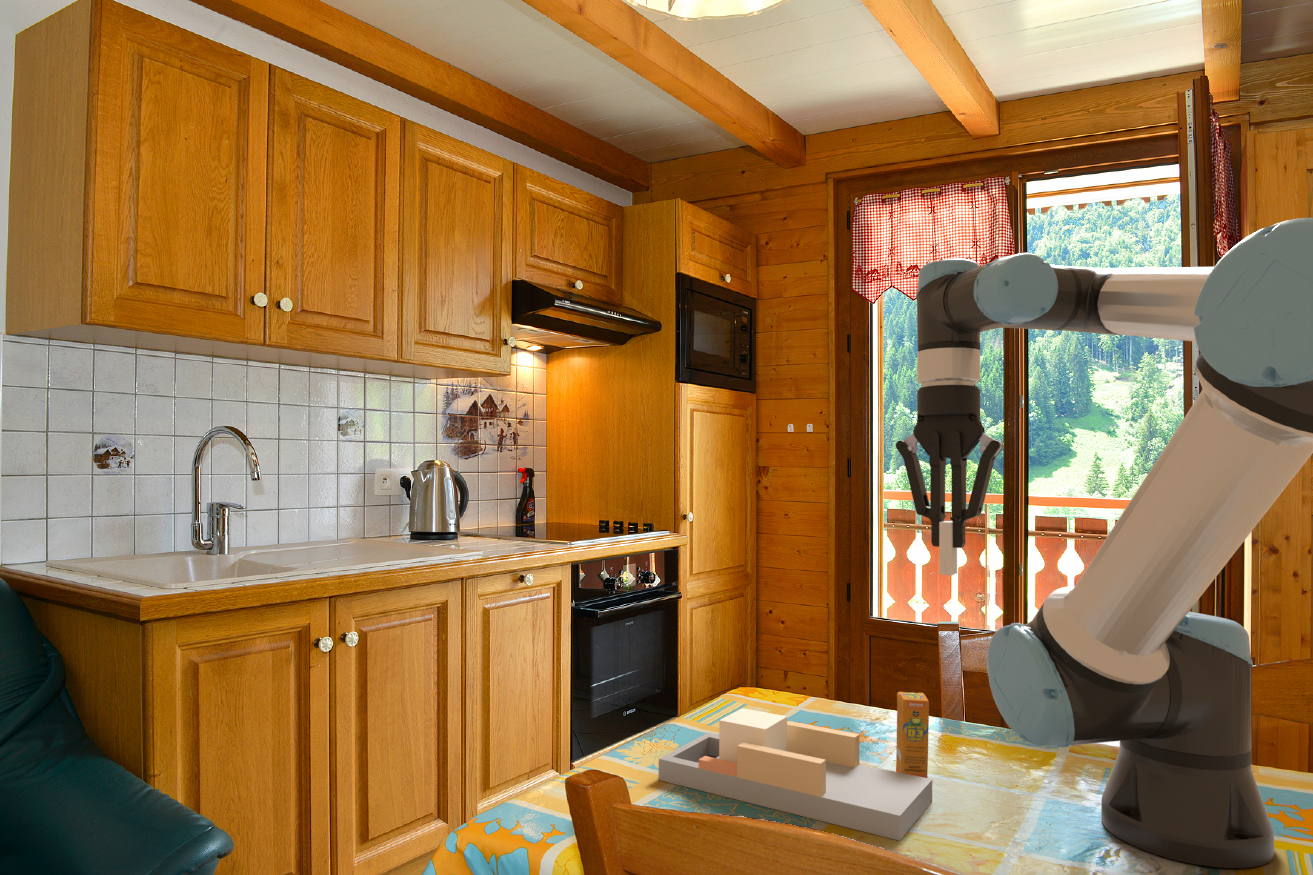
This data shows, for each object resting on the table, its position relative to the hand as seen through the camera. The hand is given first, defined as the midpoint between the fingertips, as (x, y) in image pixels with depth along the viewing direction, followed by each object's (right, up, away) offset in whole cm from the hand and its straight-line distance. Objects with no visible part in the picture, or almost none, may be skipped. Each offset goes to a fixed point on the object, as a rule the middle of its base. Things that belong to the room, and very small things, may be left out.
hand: (948, 573), depth 106 cm
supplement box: (-6, -25, -3) cm, 25 cm away
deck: (-21, -24, -8) cm, 33 cm away
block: (-25, -22, -5) cm, 33 cm away
